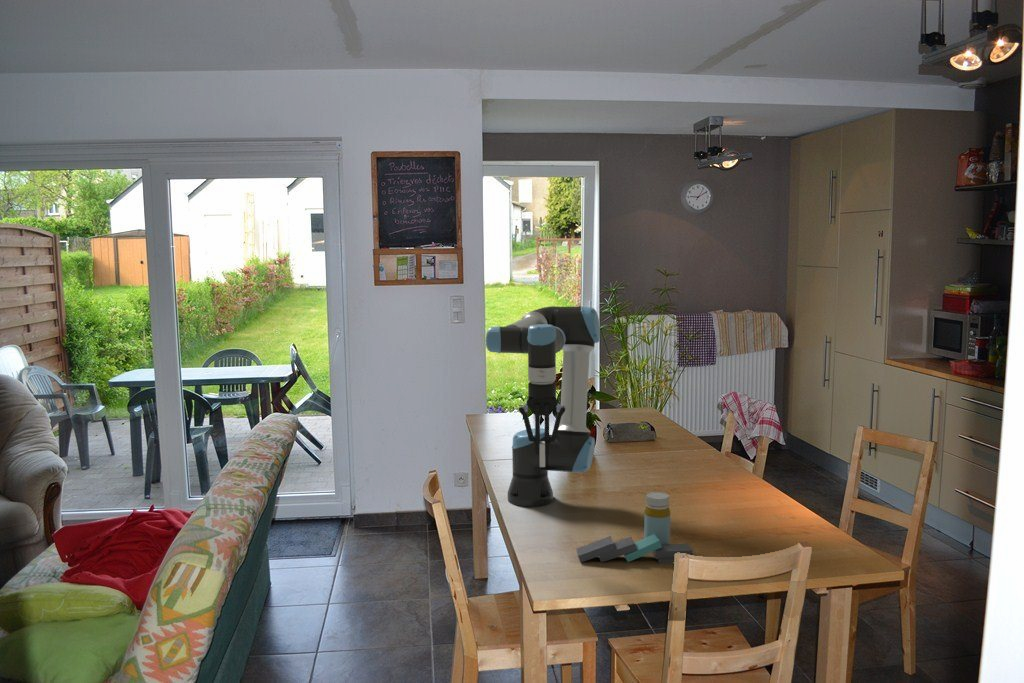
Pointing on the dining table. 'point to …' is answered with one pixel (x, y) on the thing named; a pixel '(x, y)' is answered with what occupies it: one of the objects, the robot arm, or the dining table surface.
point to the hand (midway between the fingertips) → (542, 465)
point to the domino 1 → (595, 549)
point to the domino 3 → (644, 547)
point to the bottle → (657, 516)
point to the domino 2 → (619, 549)
